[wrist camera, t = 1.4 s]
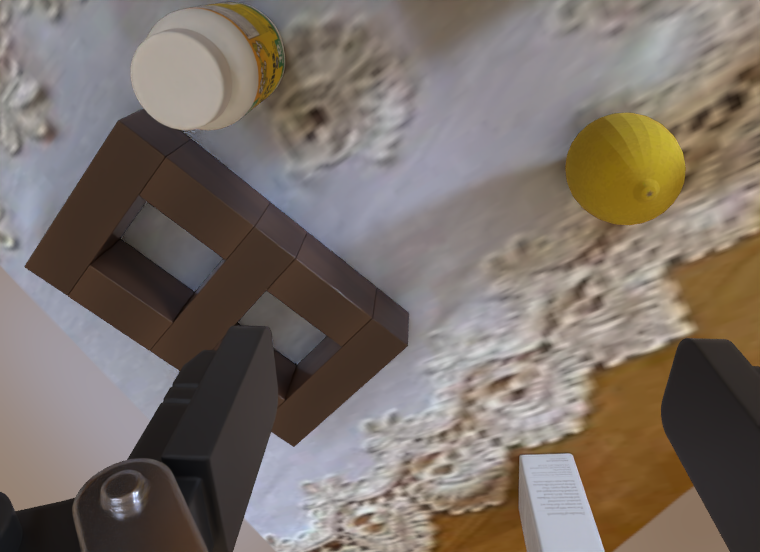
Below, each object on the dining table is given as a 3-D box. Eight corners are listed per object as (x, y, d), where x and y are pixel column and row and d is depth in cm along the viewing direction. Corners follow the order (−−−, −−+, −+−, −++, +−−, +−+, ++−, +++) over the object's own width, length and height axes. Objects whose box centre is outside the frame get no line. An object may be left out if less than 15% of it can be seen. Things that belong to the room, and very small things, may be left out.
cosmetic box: (570, 505, 47) (613, 658, 36) (517, 506, 47) (545, 658, 37) (574, 450, 44) (622, 599, 34) (518, 452, 45) (548, 599, 34)
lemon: (572, 208, 35) (611, 266, 28) (537, 129, 33) (570, 170, 26) (662, 167, 34) (726, 216, 27) (631, 81, 32) (693, 110, 25)
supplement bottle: (219, -20, 31) (142, -19, 22) (305, 40, 32) (263, 62, 23) (178, 68, 33) (94, 99, 24) (260, 121, 34) (207, 169, 25)
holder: (59, 240, 38) (23, 267, 35) (149, 105, 34) (118, 119, 30) (304, 409, 44) (294, 447, 41) (409, 313, 39) (408, 346, 36)
